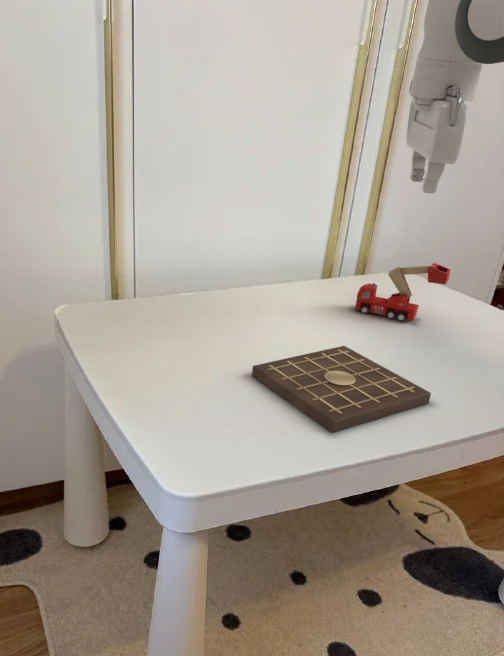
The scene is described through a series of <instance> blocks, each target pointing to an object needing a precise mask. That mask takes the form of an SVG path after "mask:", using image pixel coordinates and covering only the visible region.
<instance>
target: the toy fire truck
mask: <svg viewBox="0 0 504 656" xmlns="http://www.w3.org/2000/svg"><path fill="white" fill-rule="evenodd" d="M425 274H427V283H430V284H437V285H447V284H448V282H449V280H450V275H451V269H450V268H448V267H446V266H443V265H441V264H438V263H436V262H432V263H431V265H419V266H418V265H417V266H404V267H401V266H397V267H395V268H393V269H392V270H390V271H389V272H388V277H389V278H390V280H391V282H392V283H393V285H394V286H395V288H396V289H397V292H396V293H395V292H394V293H391V295H390V297H388V298H385V297H380V296H377V291H378V284H376V282H373V283H366V284H363V285H362V286H361V287H360V288H359V289H358V291H357V294H356V301H355V305H354V307H355V310H356V311H360V312H361V314H364V315H366V314H368V313H370V314H376V315H381V316H386V317H387V318H388V319H389V320H393V319H395V318H396V319H397V320H398V321H399V322H404V321H405V320H407V321H409V322H413V321H414V320H415V318H416V316H417V313H418V310H419V304H416V303H411V302H410V301H411V297H412V296H413V294H412V291H411V289H410V287H409V283H408V281H407V278H406V275H407V276H409V275H425Z"/></svg>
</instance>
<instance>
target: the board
mask: <svg viewBox="0 0 504 656" xmlns="http://www.w3.org/2000/svg"><path fill="white" fill-rule="evenodd" d="M251 376H252V378H254V379H256V380H257V381H258V382H260V383H261V384H263V385H264V386H265V387H267V388H269V389H270V390H271V391H273V392H274V393H275V394H277V395H278V396H279V397H281V398H282V399H284V400H285V401H286V402H288V403H290V405H292V406H294V407H295V408H296V409H298V410H300V411H301V412H302V413H303V414H305V415H306V416H308V418H311V419H312V420H314V421H315V422H316V423H318V424H319V425H321V426H322V427H323V428H324V429H326V430H328V431H329V432H330V433H336V432H339V431H342V430H345V429H348V428H352V427H355V426H359V425H362V424H365V423H368V422H372V421H376V420H378V419H382V418H384V417H388V416H392V415H395V414H398V413H401V412H404V411H405V412H406V411H408V410H411V409H415V408H418V407H420V406H424V405H428V404H429V403H430V399H431V396H432V392H430V391H429V390H426V389H425V388H424V387H423V388H422V387H421V386H419V385H417V384H415V383H414V382H412V381H410V380H408V379H406V378H405V377H403V376H401V375H399V374H398V373H396V372H393V371H392V370H391V369H388V368H386V367H385V366H383V365H381V364H379V363H377V362H375V361H373V360H371V359H370V358H368V357H366V356H364V355H362V354H361V353H359V352H357V351H355V350H353V349H351V348H349V347H348V346H346V345H340V346H336V347H332V348H327V349H322V350H319V351H313V352H308V353H304V354H300V355H299V354H298V355H295V356H290V357H285V358H281V359H277V360H273V361H268V362H264V363H263V362H262V363H259V364H254V365H252V372H251Z"/></svg>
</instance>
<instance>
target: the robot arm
mask: <svg viewBox="0 0 504 656" xmlns="http://www.w3.org/2000/svg"><path fill="white" fill-rule="evenodd" d="M501 63H504V0H428V1H427V6H426V11H425V15H424V19H423V40H422V44H421V47H420V49H419V52H418V54H417V57H416V60H415V65H414V69H413V74H412V75H413V76H412V79H411V81H410V84H409V90H408V94H409V96H410V97H412V98H411V101H410V104H409V105H410V106H409V114H408V119H407V120H408V121H407V128H406V146H408V147H409V148H410V149H412V155H411V171H410V177H409V180H410V181H412V182H414V183H422V185H421V190H422V191H423V192H424V194H433V195H434V194H435V193H436V192H437V188H438V184H439V181H440V179H441V176H442V174H443V173H444V171H445V166H446V165H453V164H456V163H457V160H458V158H459V156H460V153H461V149H462V143H463V138H464V135H465V130H466V129H465V128H466V123H467V116H468V106H467V104H466V103H465V102H473V101H475V96H476V93H477V88H478V83H479V80H480V77H481V72H482V67H483V65H493V64H501ZM427 160H428V161H427ZM426 162H427V164H426ZM425 167H427V169H426V168H425ZM425 169H426V170H425ZM425 173H426V174H425Z"/></svg>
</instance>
